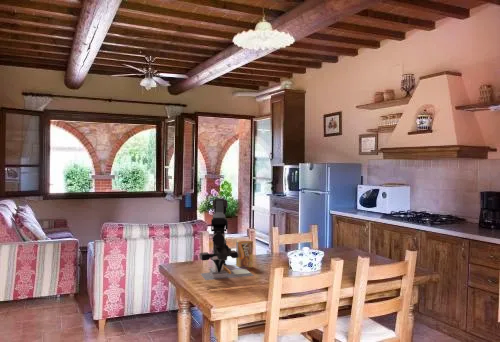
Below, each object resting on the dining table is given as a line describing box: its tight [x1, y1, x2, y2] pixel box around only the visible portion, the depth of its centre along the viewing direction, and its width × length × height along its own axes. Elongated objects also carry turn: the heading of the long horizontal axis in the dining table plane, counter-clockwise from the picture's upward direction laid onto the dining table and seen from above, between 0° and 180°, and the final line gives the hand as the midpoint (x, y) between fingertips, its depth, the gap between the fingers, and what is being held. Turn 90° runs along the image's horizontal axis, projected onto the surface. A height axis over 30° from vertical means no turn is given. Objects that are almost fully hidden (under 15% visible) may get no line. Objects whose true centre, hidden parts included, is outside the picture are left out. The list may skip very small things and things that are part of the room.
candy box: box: [235, 239, 254, 269], centre depth 246 cm, size 9×4×15 cm, turn 110°
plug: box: [209, 260, 227, 274], centre depth 224 cm, size 7×7×9 cm
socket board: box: [199, 268, 255, 281], centre depth 226 cm, size 13×26×4 cm, turn 109°
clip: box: [223, 265, 231, 274], centre depth 223 cm, size 19×2×1 cm, turn 19°
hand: (218, 272), depth 217 cm, fingers closed
